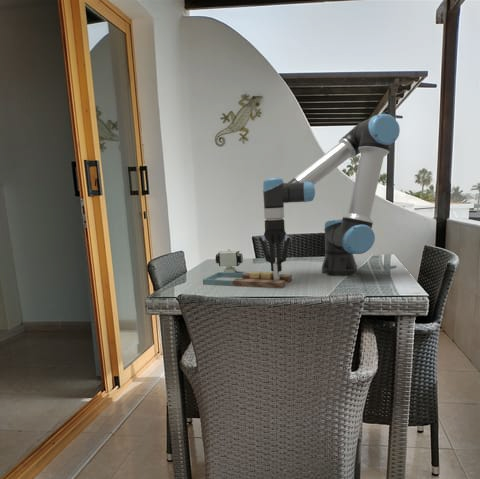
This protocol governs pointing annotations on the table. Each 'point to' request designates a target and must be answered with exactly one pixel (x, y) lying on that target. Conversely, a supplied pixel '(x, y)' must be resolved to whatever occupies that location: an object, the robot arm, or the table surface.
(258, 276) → the chip
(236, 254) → the pneumatic valve
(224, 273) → the tray
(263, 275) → the chip
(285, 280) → the slot board
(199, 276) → the table surface
